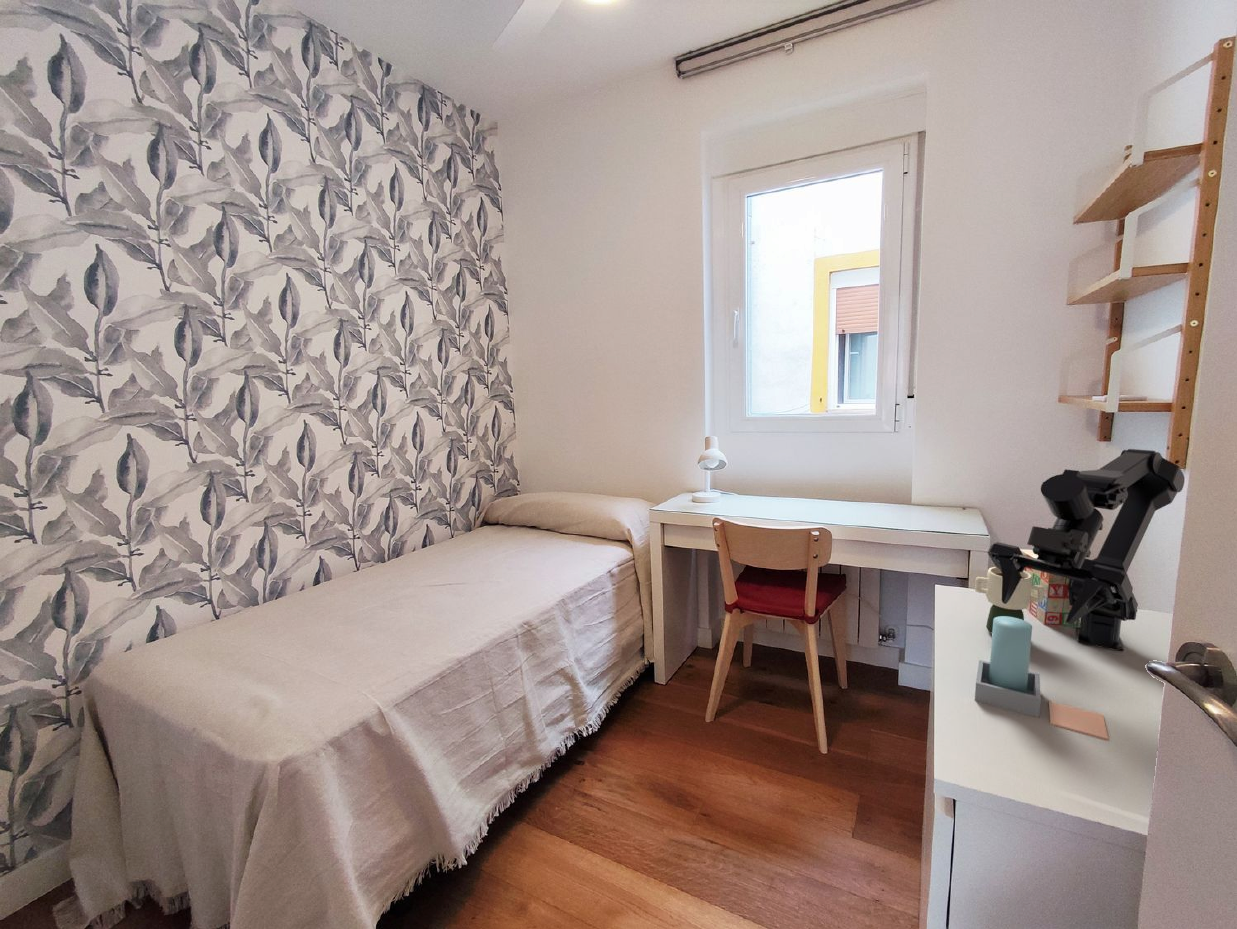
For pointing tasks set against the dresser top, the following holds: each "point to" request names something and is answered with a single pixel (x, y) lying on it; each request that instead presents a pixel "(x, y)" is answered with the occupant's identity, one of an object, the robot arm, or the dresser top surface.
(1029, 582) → the character mug
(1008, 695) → the slate tray
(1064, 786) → the dresser top surface
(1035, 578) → the stack of blocks
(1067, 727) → the terracotta coaster
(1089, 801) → the dresser top surface
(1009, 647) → the teal post
